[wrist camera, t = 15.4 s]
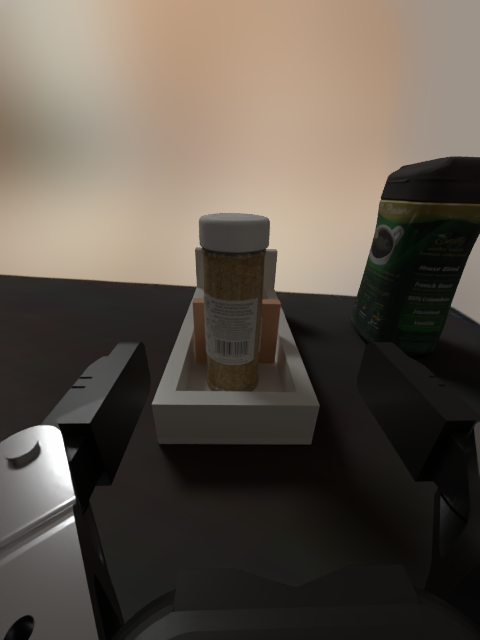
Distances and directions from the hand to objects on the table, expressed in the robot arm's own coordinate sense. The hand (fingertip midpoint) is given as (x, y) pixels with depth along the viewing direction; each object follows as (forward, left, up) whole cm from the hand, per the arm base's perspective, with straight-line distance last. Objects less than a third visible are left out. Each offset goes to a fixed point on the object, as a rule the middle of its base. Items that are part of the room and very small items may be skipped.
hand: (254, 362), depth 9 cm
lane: (+7, +14, -10) cm, 18 cm away
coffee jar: (+25, +8, -10) cm, 28 cm away
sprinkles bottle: (+4, +9, -9) cm, 14 cm away
